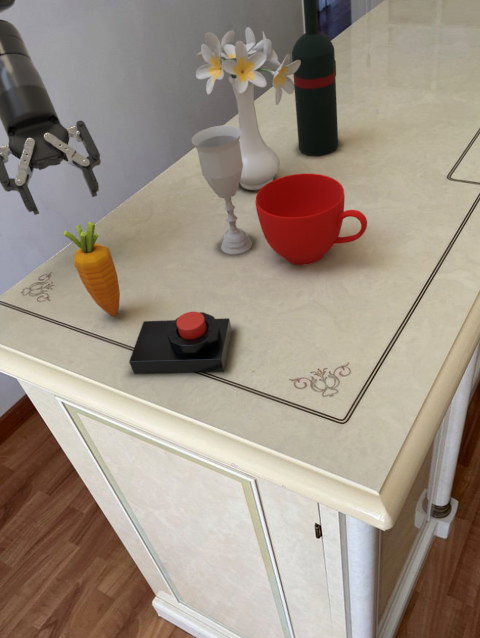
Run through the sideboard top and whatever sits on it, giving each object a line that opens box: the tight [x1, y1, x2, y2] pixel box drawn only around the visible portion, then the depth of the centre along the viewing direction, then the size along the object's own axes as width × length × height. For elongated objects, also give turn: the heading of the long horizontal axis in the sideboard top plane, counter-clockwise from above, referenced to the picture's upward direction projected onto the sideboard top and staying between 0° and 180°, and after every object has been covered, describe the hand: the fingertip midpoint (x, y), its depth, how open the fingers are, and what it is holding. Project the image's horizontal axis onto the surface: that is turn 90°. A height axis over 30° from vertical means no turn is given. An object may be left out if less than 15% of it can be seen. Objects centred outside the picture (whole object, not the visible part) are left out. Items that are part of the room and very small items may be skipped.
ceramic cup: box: [254, 173, 368, 266], centre depth 87 cm, size 13×17×10 cm
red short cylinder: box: [176, 311, 207, 340], centre depth 75 cm, size 4×4×2 cm
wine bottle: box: [291, 0, 339, 157], centre depth 108 cm, size 8×10×30 cm
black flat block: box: [128, 311, 233, 374], centre depth 77 cm, size 12×8×4 cm, turn 86°
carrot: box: [62, 221, 121, 317], centre depth 80 cm, size 5×5×15 cm
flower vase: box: [195, 26, 301, 191], centre depth 101 cm, size 13×18×25 cm
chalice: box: [191, 124, 253, 255], centre depth 89 cm, size 7×7×18 cm
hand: (66, 203), depth 85 cm, fingers open, 8 cm apart
